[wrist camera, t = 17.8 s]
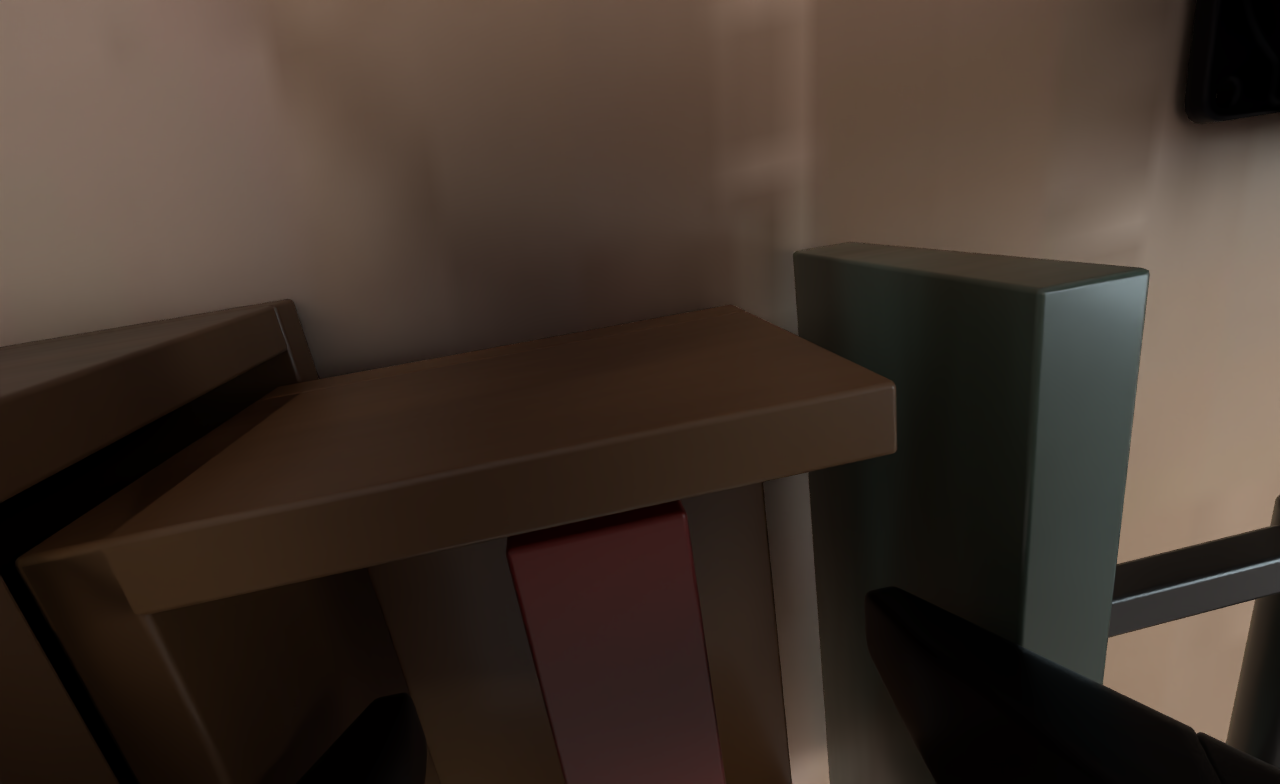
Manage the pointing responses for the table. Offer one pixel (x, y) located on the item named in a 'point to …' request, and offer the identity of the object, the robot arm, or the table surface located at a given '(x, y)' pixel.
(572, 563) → the red usb flash drive
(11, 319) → the table surface
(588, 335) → the drawer
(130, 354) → the cabinet
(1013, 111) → the table surface
